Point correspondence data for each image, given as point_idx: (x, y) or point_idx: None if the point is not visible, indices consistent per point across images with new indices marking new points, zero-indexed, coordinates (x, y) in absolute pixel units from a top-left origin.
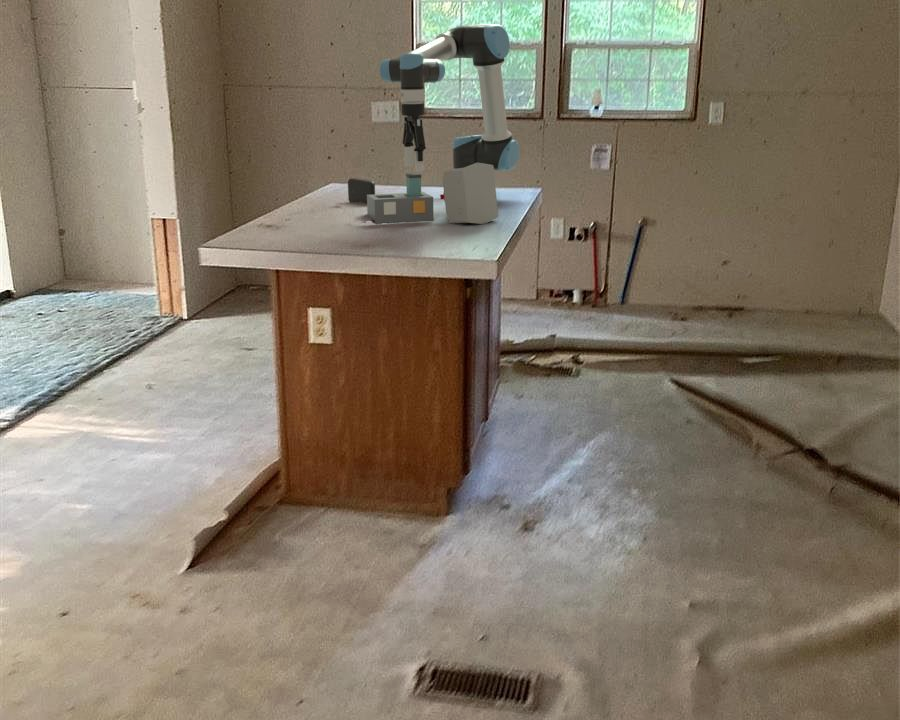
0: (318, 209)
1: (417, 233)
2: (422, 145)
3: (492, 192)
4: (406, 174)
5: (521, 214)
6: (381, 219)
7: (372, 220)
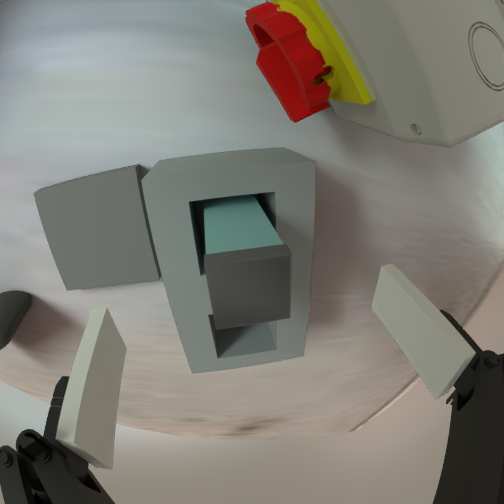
0: None
1: (421, 230)
2: (499, 387)
3: None
4: (228, 325)
5: None
6: None
7: None
